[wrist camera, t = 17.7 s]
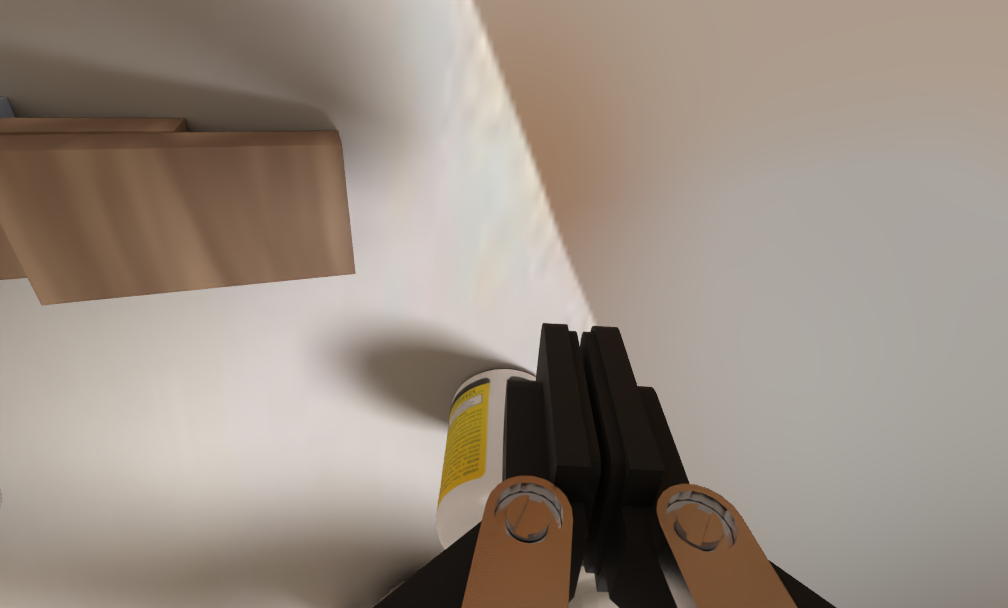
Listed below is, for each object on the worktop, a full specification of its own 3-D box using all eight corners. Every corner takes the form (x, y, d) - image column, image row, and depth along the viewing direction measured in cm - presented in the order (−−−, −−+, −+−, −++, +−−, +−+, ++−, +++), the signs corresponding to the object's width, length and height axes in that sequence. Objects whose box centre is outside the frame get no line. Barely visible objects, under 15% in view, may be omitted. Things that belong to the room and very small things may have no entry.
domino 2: (341, 144, 17) (-36, 152, 14) (355, 273, 19) (41, 305, 16) (337, 130, 18) (-1, 134, 15) (351, 251, 21) (64, 276, 18)
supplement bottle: (456, 442, 27) (431, 641, 19) (447, 365, 24) (413, 559, 16) (555, 442, 27) (574, 641, 19) (558, 364, 24) (582, 558, 16)
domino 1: (174, 131, 17) (-247, 133, 14) (209, 262, 19) (-137, 290, 16) (184, 118, 18) (-190, 117, 15) (215, 241, 21) (-98, 263, 18)
